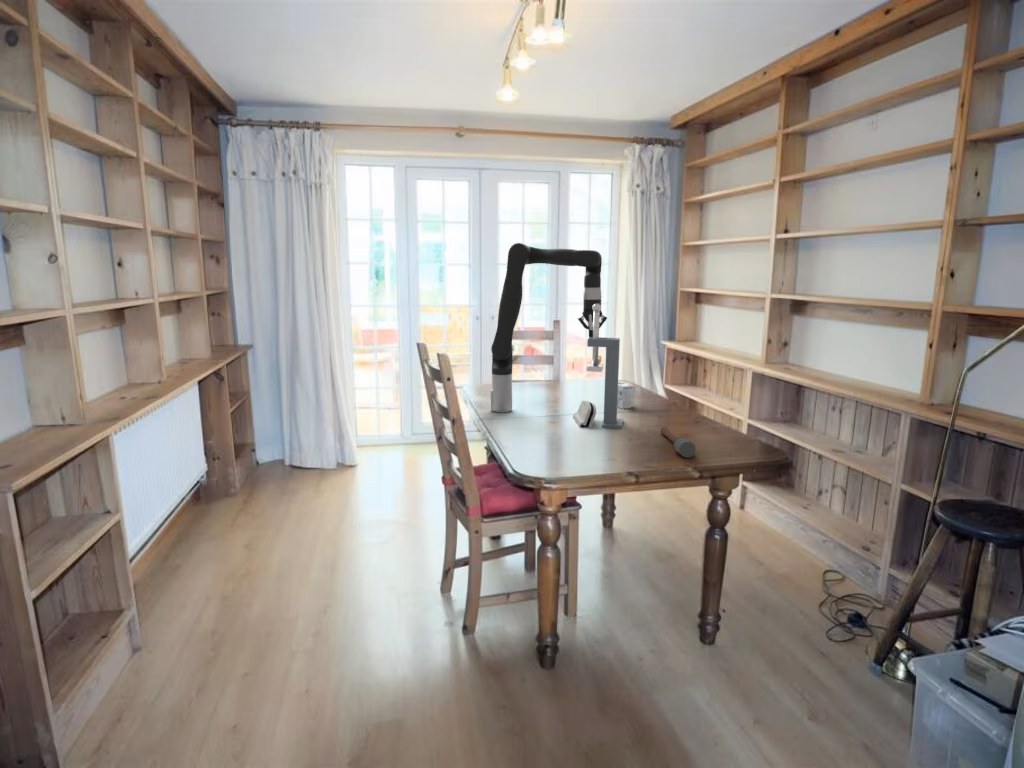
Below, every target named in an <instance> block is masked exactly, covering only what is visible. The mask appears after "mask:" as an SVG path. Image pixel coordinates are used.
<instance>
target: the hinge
mask: <svg viewBox="0 0 1024 768" xmlns="http://www.w3.org/2000/svg"><path fill="white" fill-rule="evenodd" d="M596 414H597V408H596V405H595V404H594V403H593V402H591V401H587V400H582V401H581V402H580V405H579V407H578V409H577V411H576V412H575V413H573V414H572V415H573V416H572V417H573V418H572V419H573V420H575V421H574V422H575V424H576V425H577V427H578V428H581V427H582V426H586V427H588V428H592V425H593V423H594V420H595V418H596Z"/></svg>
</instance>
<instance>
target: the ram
mask: <svg viewBox="0 0 1024 768" xmlns="http://www.w3.org/2000/svg"><path fill="white" fill-rule="evenodd" d="M592 309H593V311H594V318H593V339H599V337H600V328H599V322H600V319H599V317H600V310H601V311H602V304H601V305H600V304H597V303H596V304H594V305H593V307H592ZM600 318H601V317H600ZM599 348H600V347H592V353H591V354H592V357H591V358H592V359H591V360H592V361H591V362H589V363H588V364H587V365H586V372H597V373H602V372H603V369H604V363H602V355H599Z"/></svg>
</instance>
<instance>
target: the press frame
mask: <svg viewBox="0 0 1024 768" xmlns="http://www.w3.org/2000/svg"><path fill="white" fill-rule="evenodd" d="M620 340H621V339H620V337H600V336H599V339H593V337H589V336H588V338H587V347H589V348H591V347H592V348H593V347H599V348H605V369H604V370H605V372H604V374H605V375H604V376H605V378H604V399H603V400H604V403H603V420H602V423H601V428H602V429H614V428H615V429H617V430H622V428H623V425H624V419H623V418H617V417H618V407H617V399H618V382H619V374H620V373H619V368H620V366H619V364H620V347H621V346H620V344H621V342H620ZM615 429H614V430H615Z"/></svg>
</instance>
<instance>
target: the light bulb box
mask: <svg viewBox="0 0 1024 768" xmlns="http://www.w3.org/2000/svg"><path fill="white" fill-rule="evenodd" d="M635 386H636V385H634V384H631V383H628V382H624V381H618V399H617V408H619V409H621V408H622V410H624V408H626V409H632V408H631V407H633V408H634V407H635V406H634V405H635Z"/></svg>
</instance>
